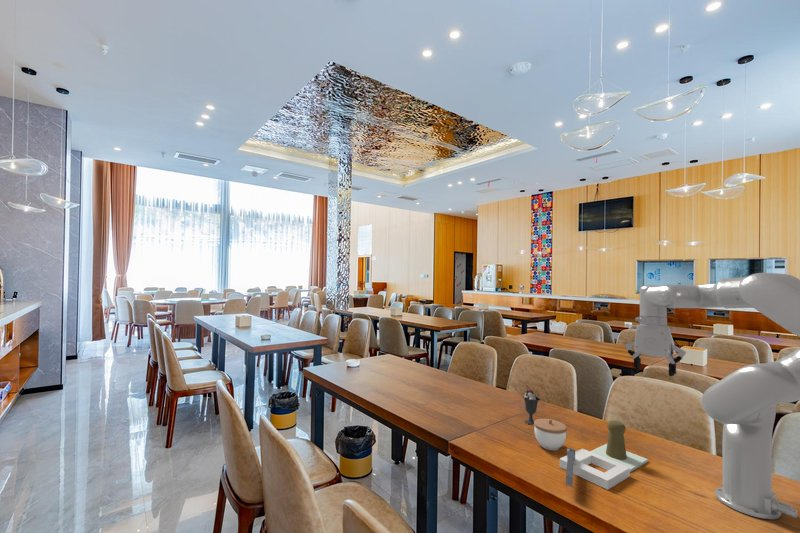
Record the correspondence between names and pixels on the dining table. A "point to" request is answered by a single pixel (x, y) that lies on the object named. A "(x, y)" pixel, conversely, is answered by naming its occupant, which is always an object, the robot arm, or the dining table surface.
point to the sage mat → (631, 461)
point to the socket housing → (593, 475)
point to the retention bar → (570, 466)
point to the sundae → (530, 404)
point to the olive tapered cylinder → (616, 440)
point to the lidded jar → (550, 433)
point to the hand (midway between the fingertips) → (654, 372)
